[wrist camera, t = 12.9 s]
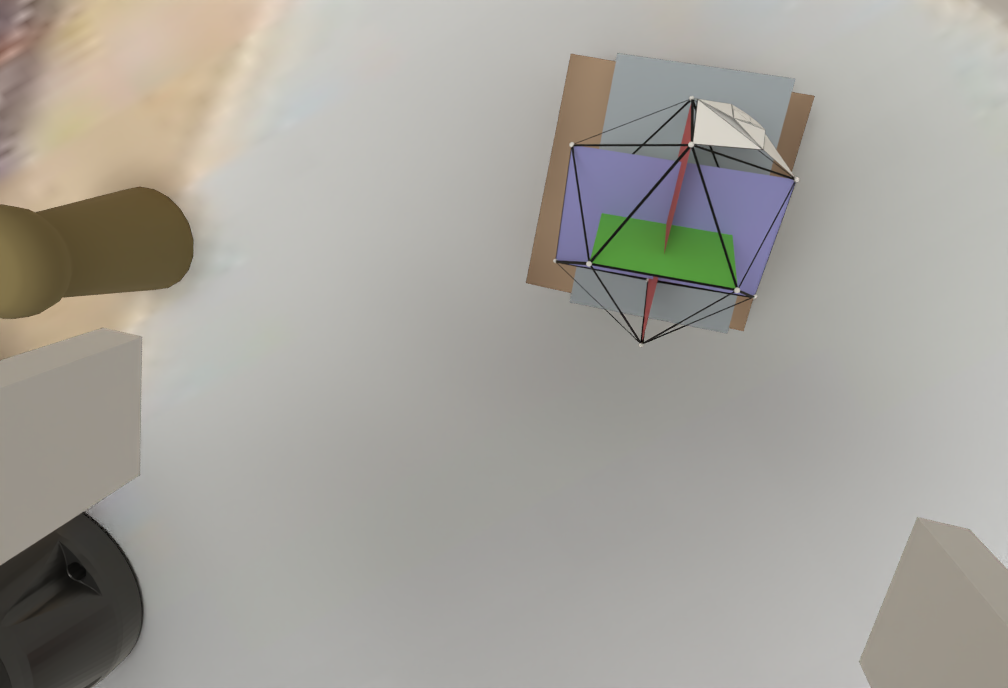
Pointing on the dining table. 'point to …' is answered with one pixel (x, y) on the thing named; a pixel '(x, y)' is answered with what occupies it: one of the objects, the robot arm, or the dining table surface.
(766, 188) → the geometric puzzle
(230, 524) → the dining table surface
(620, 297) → the tower top block
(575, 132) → the tower base block
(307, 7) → the dining table surface
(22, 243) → the cork
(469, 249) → the dining table surface
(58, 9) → the dining table surface
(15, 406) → the robot arm
